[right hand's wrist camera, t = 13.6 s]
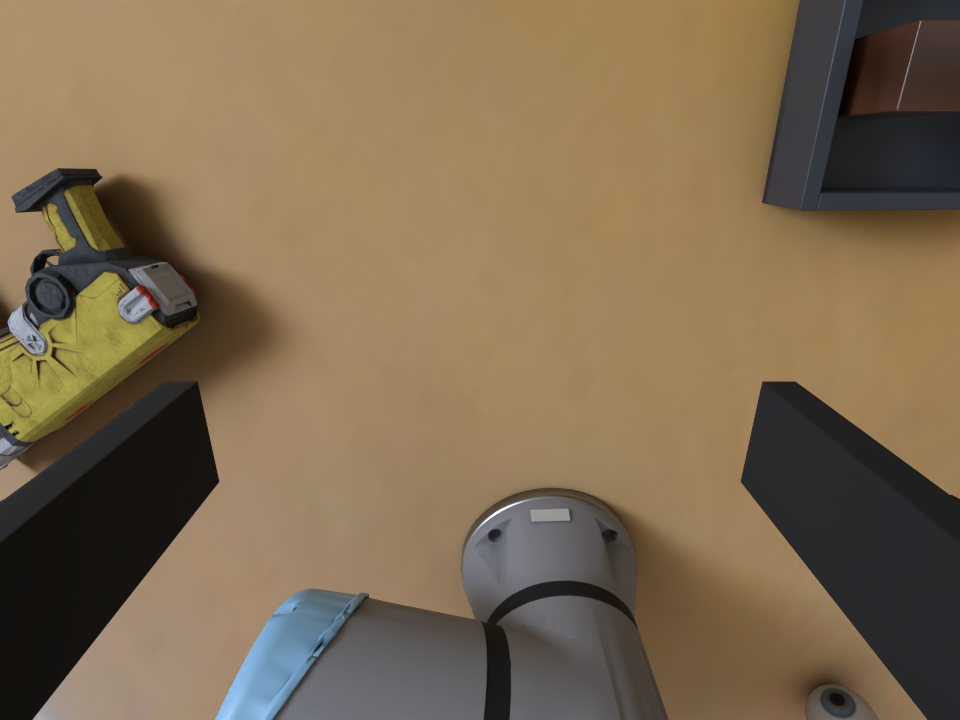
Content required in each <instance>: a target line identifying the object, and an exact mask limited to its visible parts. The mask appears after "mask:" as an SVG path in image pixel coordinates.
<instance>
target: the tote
mask: <svg viewBox="0 0 960 720" xmlns="http://www.w3.org/2000/svg"><path fill="white" fill-rule="evenodd" d="M921 19H960V0H800V4H799V9H798V15H797V20H796V25H795V31H794V36H793V41H792V47H791V52H790V57H789V63H788V68H787V73H786V79H785V84H784V89H783V95H782V100H781V105H780V110H779V116H778V121H777V126H776V132H775V137H774V142H773V148H772V153H771V158H770V164H769V169H768V174H767V180H766V185H765V190H764V196H763V201H762V203H765V204H771V205H776V206H781V207H786V208H791V209H797V210H960V113H949V114H935V115H922V116H909V117H895V118H882V119H837V116H838V112H839V108H840V103H841V99H842V94H843V90H844V85H845V81H846V77H847V72H848V68H849V63H850V59H851V54H852V50H853V46H854V41H855V39H856V38H860V37H863V36H866V35H870V34H873V33H877V32H880V31H884V30H887V29H890V28H894V27H897V26H901V25H904V24H907V23H911V22H914V21H918V20H921Z"/></svg>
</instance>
